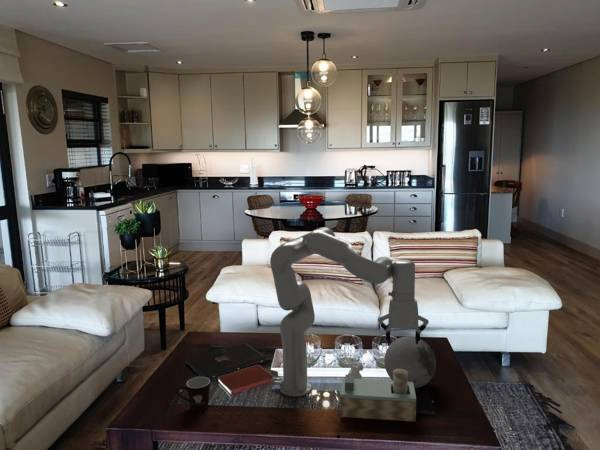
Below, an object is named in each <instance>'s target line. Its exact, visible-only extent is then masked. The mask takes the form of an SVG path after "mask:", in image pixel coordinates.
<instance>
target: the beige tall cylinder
mask: <svg viewBox="0 0 600 450" xmlns="http://www.w3.org/2000/svg"><path fill="white" fill-rule="evenodd" d="M392 381H393V393H394V394H407V386H408V372H407V371H406V370H404V369H395V370H394V371H393V380H392Z"/></svg>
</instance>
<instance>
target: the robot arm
mask: <svg viewBox="0 0 600 450" xmlns="http://www.w3.org/2000/svg"><path fill="white" fill-rule="evenodd" d="M315 254H316V255H318V256H321V257H324V258H326V259H327V260H330V261H333V262H334V263H337V264H339V265H341V266H342V267H343V268H344V269H345V270H347V272H348V273H350V274H352V275H353V276H355V277H356V278H358V279H361V280H364V281H365V282H368V283H371V284H376V285H381V284H383V283H384V282H386V281H387V280H388V279H392V290H391V291H388V293H387V294H388V297H389V296H390V301H389V306H388V313H387V314H385V315H382V316H379V317H378V318H377V322H378V323H379V325H380V328H382V329H383V330H384V331H385V341H387V343H388V344H391V330H392V329H397V330H398V329H399V330H415V333H414V335H415V336H414V337H415V342H416V344H418V341H420V339H421V333H422V332H423V331H424V330H425V329H426V328H427V326H428V324H429V319H428V318H425V317H424V316H421V315H420V314H419V307H418V306H419V305H418V300H417V298H415V296H416V294H415V293H416V291H415V290H416V289H415V287H416V286H415V285H416V284H415V283H416V282H415V281H416V280H415V279H416V264H415V262H414V261H413V260H411V259H410V260H409V259H398V258H393V257H390V256H389V257H388V256H381V257H380V256H379V257H378V258H376V260H372V259H368V258H366V257H364V256H362V255H360V254H359V253H358V252H356V250H355V249H354V246H353V244H352V243H351V242H349V241H347V240H344V239H341V238H340V237H337V236H336V234H335V232H334V230H332V229H331V228H329V227H327V226H325V227H324V226H323V227H318V228H316V229H313V230H311V231H310V232H308V233H306V234H304V235H300V236H299V237H295V238H293V239H291V240H289V241H288V240H287V241H286V242H284V243H282V244H280V245H279V246H278V247H276V248H275V249H274V250H273V251H272V253H271V256H270V258H269V259H270V260H269V264H270V268H271V269H270V270H271V272H272V277H273V280H274V281H273V282H274V287H275V288H274V289H275V292H276V293H275V294H276V297H277V301H278V305H279V307H280V308H281V309H282V310H284V311H288V312H289V311H290V312H289V313H288V314H286V315H284V317H283V318H282V319H281V320H280V324H279V331H280V336H281V345H282V375H283V376H281V377H277V376H273V377H272V382H273V383H274V385H275V386H277V385H279V392H280V393H281V394H283V395H285V396H287V397H292V398H293V397H294V398H295V397H302V396H305V395H308V394H309V393H310V392H311V391H312V385H311V383H310V381H308V353H307V352H308V349H307V341H306V338H305V333H306V332H307V331H308V330H309V329H310V328H311V327H312V326H313V324H314V323H315V319H316V318H315V317H316V316H315V310H314V304H313V299H312V298H313V297H312V294H311V290H310V288H309V286H308V284H306V283H305V282H304V281H302V280H297V276H296V272H295V270H294V268H293V267H292V265H293V264H296V263H298V262H300V261H302V260H304V259H306V258H308V257H310V256H312V255H315ZM386 320H387V321H388V323H387V324H385V323H384V321H386ZM419 321H420V322H422V324H420V326H419Z"/></svg>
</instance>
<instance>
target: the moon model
mask: <svg viewBox="0 0 600 450" xmlns="http://www.w3.org/2000/svg"><path fill="white" fill-rule="evenodd" d="M383 360H384V361H383V362H384V368H385V369H384V370H385V371H386V374H387V375H388V377H389V379H390V380H391V381H393V371H394V370H395V369H404V370H406V371H407V372H408V382H413V384H414V389H419V388H422V387H424V386H426V385H427V384H428V383H429V382H430V381H431V380H432V378H433V377H434V375H435V372H436V368H437V360H436V356H435V354H434V351H433V349H432V348H431V347H430V345H429V344H428V343H426V341H424V340H422V339H421V338H420V341H418V344H416V342H415V336H410V335H409V336H402V337H399V338H396V339H395V340H394V341H392V342H390V343H389V345H388V347H387V348H386V351H385V353H384V359H383Z"/></svg>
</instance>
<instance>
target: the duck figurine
mask: <svg viewBox="0 0 600 450" xmlns="http://www.w3.org/2000/svg"><path fill="white" fill-rule="evenodd" d="M363 370H364V365H363V363H362V362H358V361H357V360H356V361H354V362H353V363H351V365H350V370H349V372H348V373H347V375H354V379H363V376H362V374H361V373H360V372H361V371H363Z"/></svg>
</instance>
